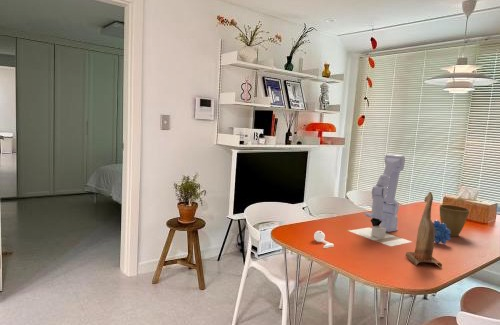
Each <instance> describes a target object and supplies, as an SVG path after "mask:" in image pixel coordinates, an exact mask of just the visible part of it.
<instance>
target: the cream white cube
mask: <svg viewBox="0 0 500 325" xmlns="http://www.w3.org/2000/svg"><path fill="white" fill-rule="evenodd" d="M371 228H372V233H371V235H372V236H375V237H377V238H385V233H387V231H386V229H385V228H383V227H380V225H379V226H373V225H372V227H371Z"/></svg>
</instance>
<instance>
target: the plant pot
mask: <svg viewBox="0 0 500 325" xmlns="http://www.w3.org/2000/svg"><path fill="white" fill-rule="evenodd" d="M469 213H470V209H469V208H466V207H464V206H459V205H453V204H439V217H440V224H441V223H445V224H446V225H447V228H448V229H450V231H451V234H449V235H450V237H459V235H460V234H461V232H462V230H463V229H464V226H465V224H466V221H467V219H468V217H469Z"/></svg>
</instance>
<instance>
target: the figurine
mask: <svg viewBox="0 0 500 325" xmlns="http://www.w3.org/2000/svg"><path fill="white" fill-rule="evenodd" d="M313 234H314V235H313V238H314V240H315V241H316V242H319V243H321V242H322V243H324V245H323V249H327V248H333V247H334V246H335V244H334V243H331V242H329V241H326V240H325V239H326V235H325V233H324V231H322V230H317V231H315V232H314V233H313Z"/></svg>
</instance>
